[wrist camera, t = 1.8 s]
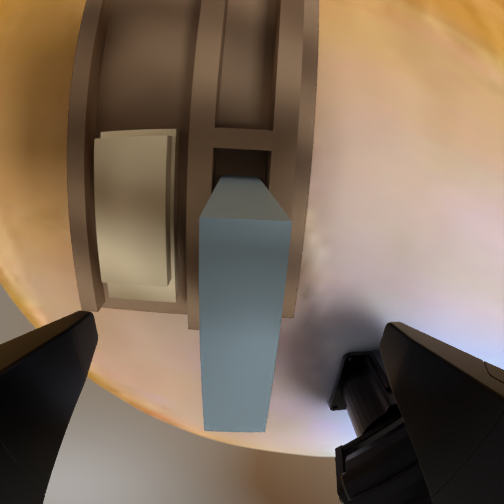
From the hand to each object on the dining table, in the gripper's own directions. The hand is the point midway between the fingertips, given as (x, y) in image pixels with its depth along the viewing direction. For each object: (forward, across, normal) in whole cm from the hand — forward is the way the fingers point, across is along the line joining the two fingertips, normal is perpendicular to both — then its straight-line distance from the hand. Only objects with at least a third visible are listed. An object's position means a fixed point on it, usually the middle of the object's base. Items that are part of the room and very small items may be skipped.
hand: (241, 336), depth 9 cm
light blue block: (+10, 0, 0) cm, 10 cm away
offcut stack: (+10, +6, -1) cm, 12 cm away
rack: (+11, +3, -6) cm, 13 cm away
